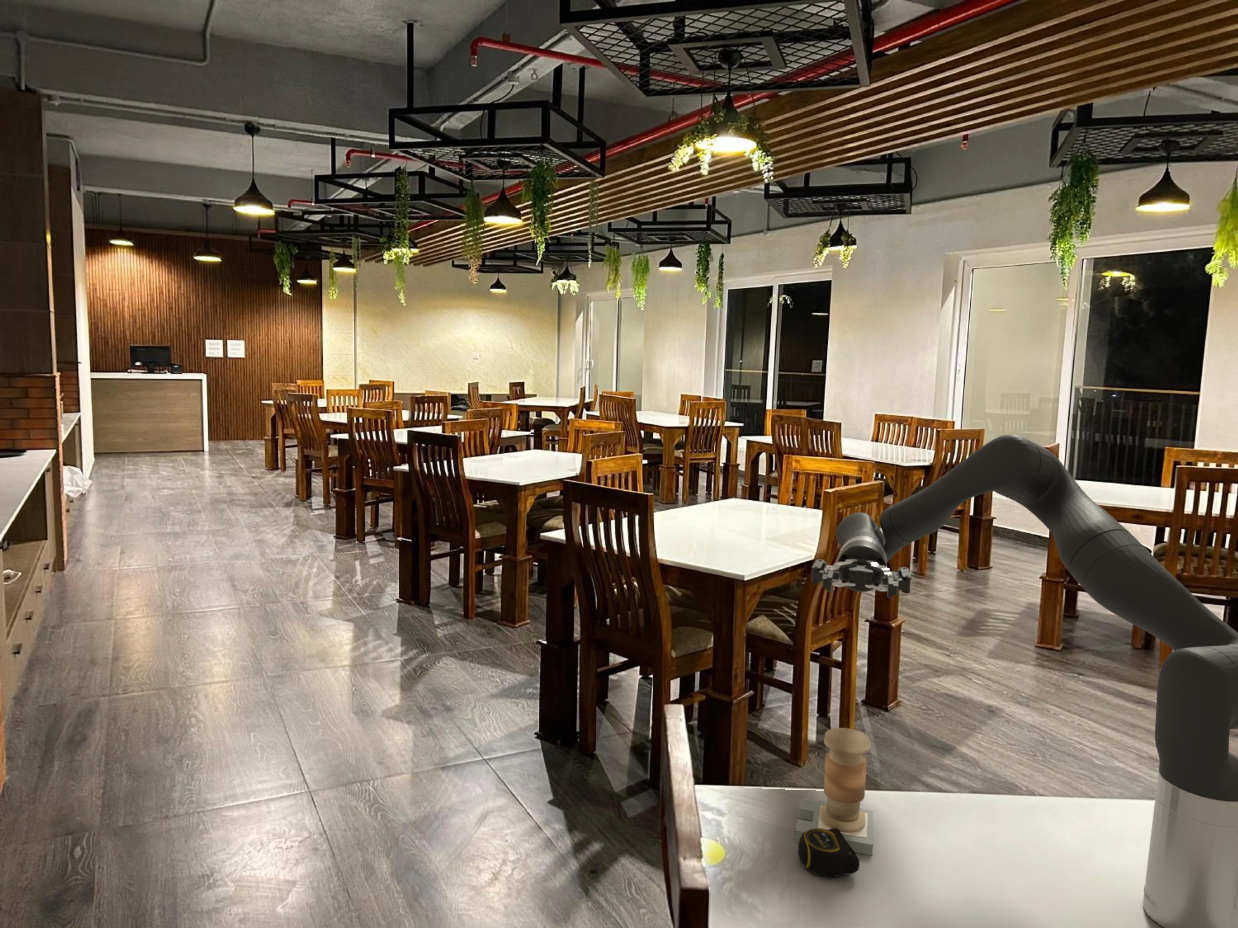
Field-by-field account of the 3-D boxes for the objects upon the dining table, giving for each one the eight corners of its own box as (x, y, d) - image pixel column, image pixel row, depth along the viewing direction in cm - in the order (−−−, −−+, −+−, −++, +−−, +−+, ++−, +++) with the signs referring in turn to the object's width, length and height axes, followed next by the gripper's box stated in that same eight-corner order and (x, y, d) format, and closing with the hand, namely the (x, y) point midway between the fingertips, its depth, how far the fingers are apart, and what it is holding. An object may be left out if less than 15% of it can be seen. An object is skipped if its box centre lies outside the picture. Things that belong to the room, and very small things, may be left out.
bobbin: (865, 812, 121) (870, 731, 120) (864, 835, 116) (870, 750, 114) (821, 805, 123) (826, 725, 122) (818, 827, 117) (823, 743, 116)
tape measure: (860, 881, 109) (862, 854, 108) (807, 884, 108) (809, 855, 107) (840, 850, 115) (842, 824, 115) (790, 852, 115) (792, 825, 114)
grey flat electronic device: (872, 820, 123) (873, 809, 122) (872, 855, 114) (873, 843, 114) (801, 807, 126) (801, 797, 125) (795, 840, 117) (795, 829, 117)
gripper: (818, 535, 141) (810, 557, 126) (910, 543, 137) (913, 567, 122) (815, 580, 142) (807, 607, 127) (906, 589, 138) (909, 619, 123)
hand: (859, 588), depth 124 cm, fingers open, 8 cm apart
